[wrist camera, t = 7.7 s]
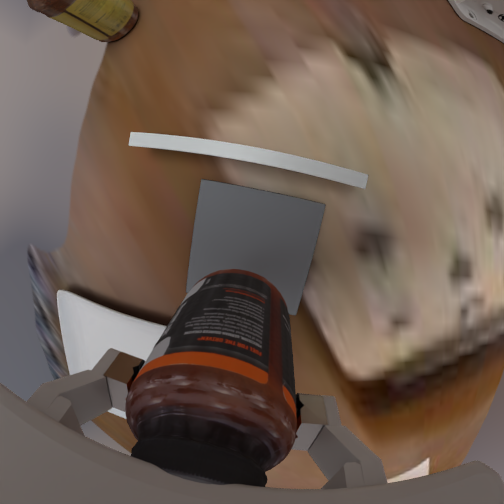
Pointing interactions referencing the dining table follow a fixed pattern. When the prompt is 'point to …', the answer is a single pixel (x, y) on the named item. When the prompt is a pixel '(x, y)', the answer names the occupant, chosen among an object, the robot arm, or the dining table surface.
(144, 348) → the salad plate
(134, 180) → the dining table surface
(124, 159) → the dining table surface
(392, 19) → the dining table surface
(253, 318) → the supplement bottle
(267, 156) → the acrylic wall
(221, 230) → the rubber mat
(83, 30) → the sauce bottle
